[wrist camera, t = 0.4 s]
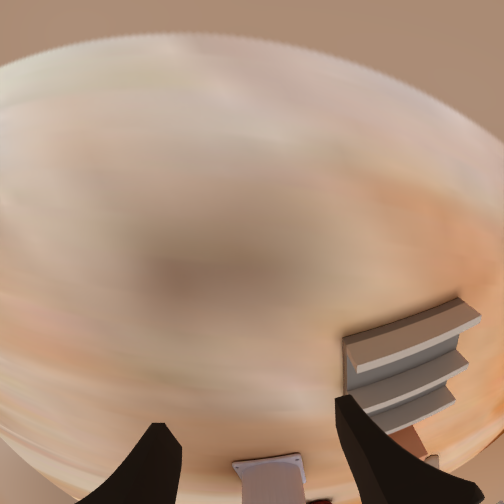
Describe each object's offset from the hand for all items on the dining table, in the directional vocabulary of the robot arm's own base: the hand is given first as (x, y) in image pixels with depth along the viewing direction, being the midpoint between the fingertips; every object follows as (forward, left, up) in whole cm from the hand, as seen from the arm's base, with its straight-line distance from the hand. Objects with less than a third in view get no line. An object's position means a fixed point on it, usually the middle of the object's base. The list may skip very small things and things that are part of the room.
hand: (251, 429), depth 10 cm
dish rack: (-10, -13, -10) cm, 19 cm away
